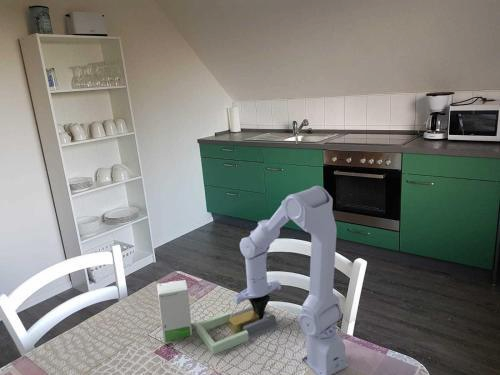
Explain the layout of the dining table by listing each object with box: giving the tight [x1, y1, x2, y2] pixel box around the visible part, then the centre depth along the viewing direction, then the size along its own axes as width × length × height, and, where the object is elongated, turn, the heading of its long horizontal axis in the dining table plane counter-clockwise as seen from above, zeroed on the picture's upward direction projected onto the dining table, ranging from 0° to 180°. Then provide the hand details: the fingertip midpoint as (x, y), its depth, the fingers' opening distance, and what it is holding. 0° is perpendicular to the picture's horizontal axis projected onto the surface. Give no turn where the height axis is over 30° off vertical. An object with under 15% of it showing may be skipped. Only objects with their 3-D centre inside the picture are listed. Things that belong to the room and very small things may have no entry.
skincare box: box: [156, 279, 193, 345], centre depth 112 cm, size 8×7×16 cm
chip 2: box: [241, 310, 260, 325], centre depth 115 cm, size 4×4×3 cm
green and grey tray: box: [194, 305, 280, 355], centre depth 113 cm, size 12×20×4 cm, turn 119°
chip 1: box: [227, 314, 247, 335], centre depth 113 cm, size 4×4×3 cm
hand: (259, 317), depth 116 cm, fingers closed
